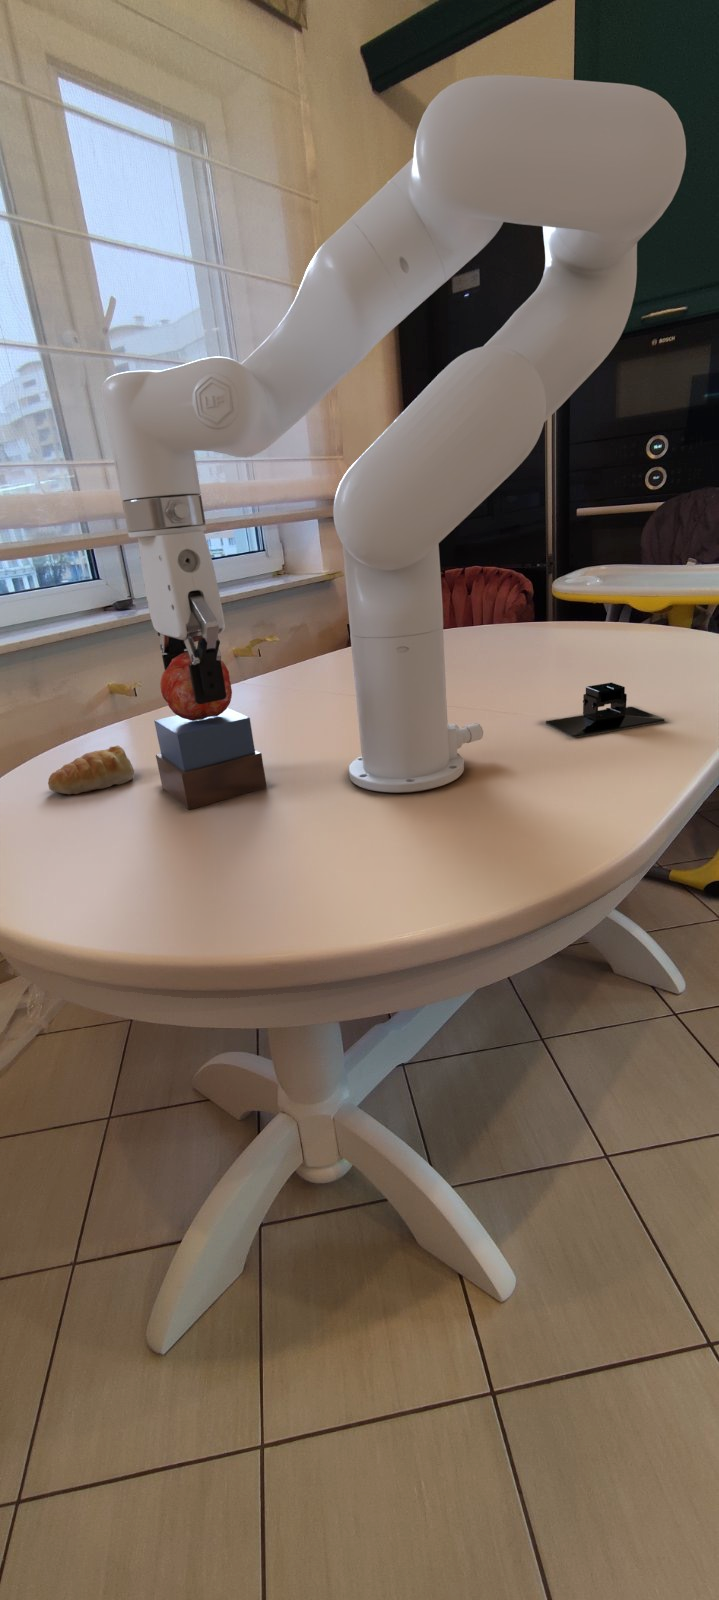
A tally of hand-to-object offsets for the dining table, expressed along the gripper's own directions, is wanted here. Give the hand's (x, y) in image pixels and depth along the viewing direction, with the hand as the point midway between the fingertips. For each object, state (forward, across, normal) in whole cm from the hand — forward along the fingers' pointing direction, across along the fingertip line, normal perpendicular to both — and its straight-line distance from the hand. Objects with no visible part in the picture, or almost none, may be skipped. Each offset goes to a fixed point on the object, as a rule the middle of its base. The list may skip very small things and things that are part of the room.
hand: (196, 693), depth 77 cm
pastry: (+11, +12, +10) cm, 19 cm away
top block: (+7, 0, 0) cm, 7 cm away
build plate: (+11, -15, -46) cm, 50 cm away
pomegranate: (+3, 0, 0) cm, 3 cm away
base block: (+11, 0, 0) cm, 11 cm away
